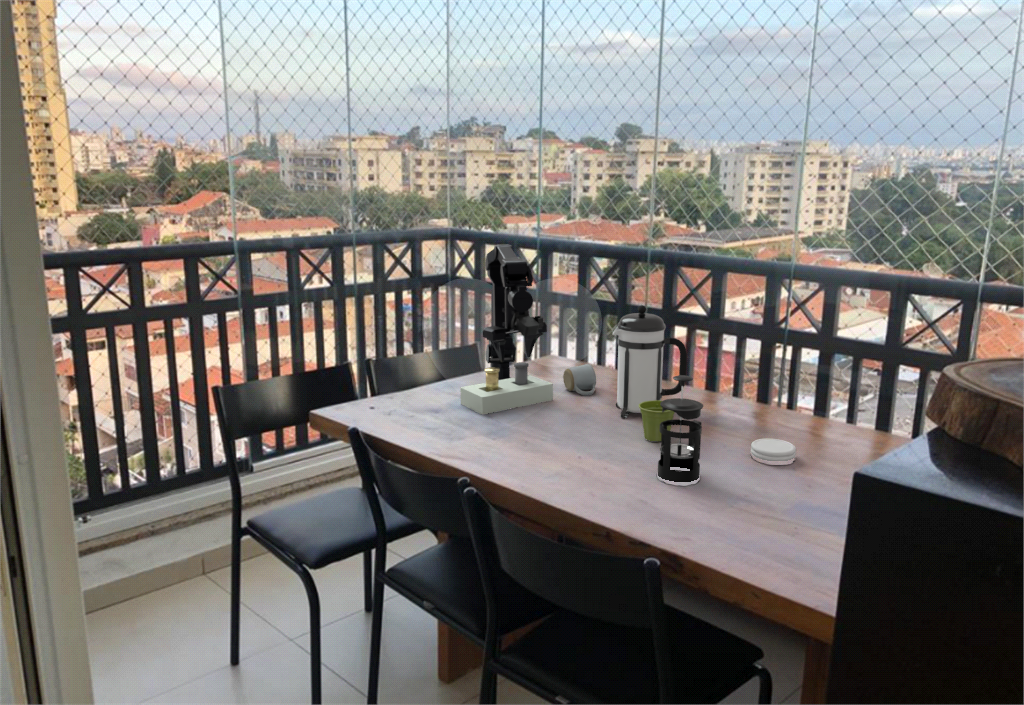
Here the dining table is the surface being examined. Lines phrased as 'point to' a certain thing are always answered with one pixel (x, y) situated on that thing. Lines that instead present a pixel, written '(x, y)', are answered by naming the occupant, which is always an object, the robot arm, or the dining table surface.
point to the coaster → (773, 449)
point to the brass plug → (492, 379)
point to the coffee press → (643, 360)
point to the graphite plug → (521, 373)
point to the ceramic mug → (580, 379)
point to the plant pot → (654, 419)
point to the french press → (680, 452)
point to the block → (506, 395)
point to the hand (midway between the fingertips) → (515, 359)
